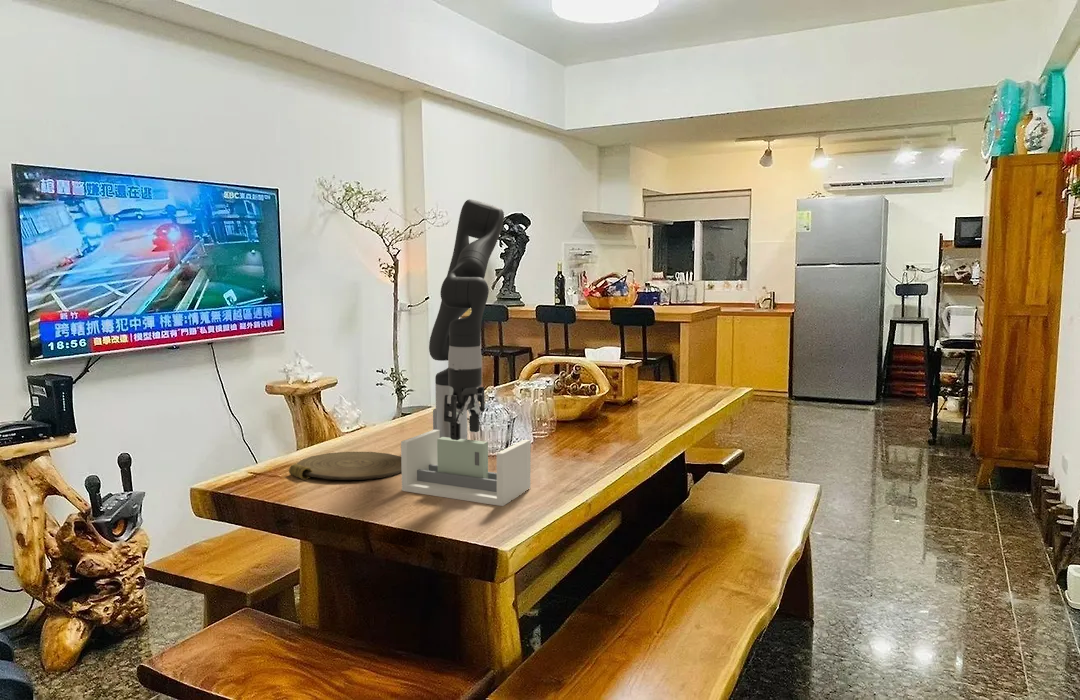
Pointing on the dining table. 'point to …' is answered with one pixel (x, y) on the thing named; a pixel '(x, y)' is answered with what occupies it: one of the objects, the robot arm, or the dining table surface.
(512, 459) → the grey u-shaped open holder
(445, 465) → the door panel
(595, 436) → the dining table surface
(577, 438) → the dining table surface
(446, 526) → the dining table surface
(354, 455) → the decorative disc
